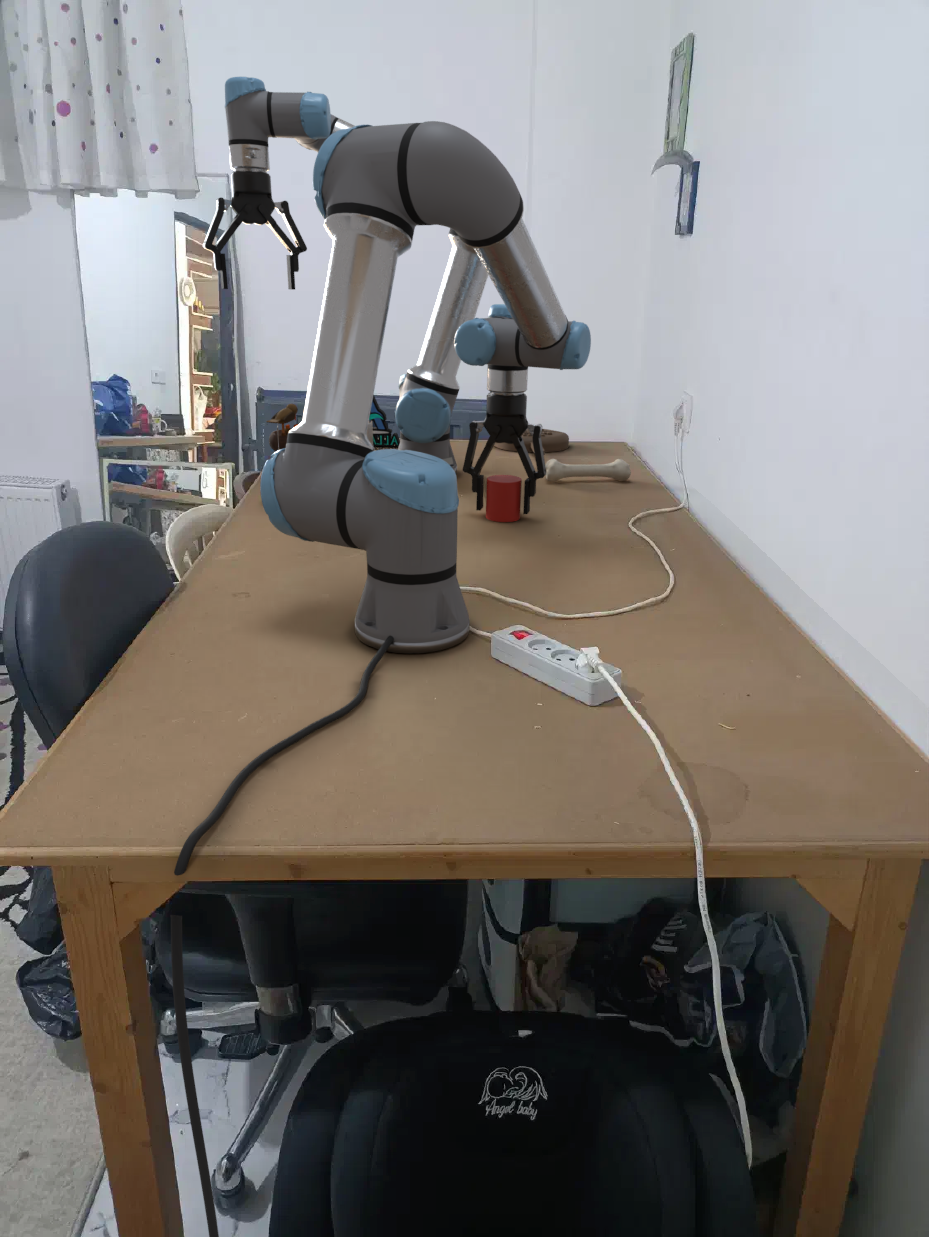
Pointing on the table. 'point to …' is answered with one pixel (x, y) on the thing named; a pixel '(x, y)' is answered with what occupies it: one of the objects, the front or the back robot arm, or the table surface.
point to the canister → (503, 498)
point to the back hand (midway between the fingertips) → (258, 289)
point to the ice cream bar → (549, 441)
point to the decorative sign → (382, 427)
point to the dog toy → (587, 470)
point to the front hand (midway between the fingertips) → (502, 510)
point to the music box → (282, 417)
